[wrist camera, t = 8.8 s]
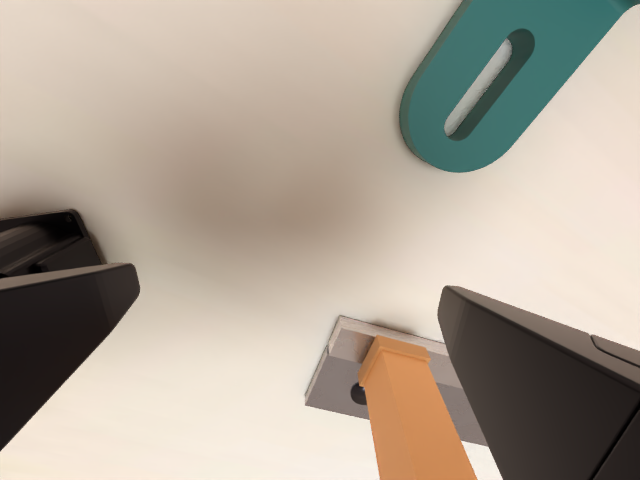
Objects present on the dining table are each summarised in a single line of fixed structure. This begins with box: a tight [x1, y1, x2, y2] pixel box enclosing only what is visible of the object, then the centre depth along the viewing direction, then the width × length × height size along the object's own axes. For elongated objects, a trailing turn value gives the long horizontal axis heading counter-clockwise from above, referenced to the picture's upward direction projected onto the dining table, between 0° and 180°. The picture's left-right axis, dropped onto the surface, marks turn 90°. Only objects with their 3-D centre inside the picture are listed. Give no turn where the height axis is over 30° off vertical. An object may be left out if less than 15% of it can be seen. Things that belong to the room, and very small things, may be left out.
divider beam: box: [328, 316, 463, 389], centre depth 22 cm, size 22×4×12 cm, turn 72°
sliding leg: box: [358, 335, 477, 480], centre depth 20 cm, size 4×4×10 cm
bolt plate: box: [305, 346, 488, 446], centre depth 29 cm, size 22×6×1 cm, turn 72°
